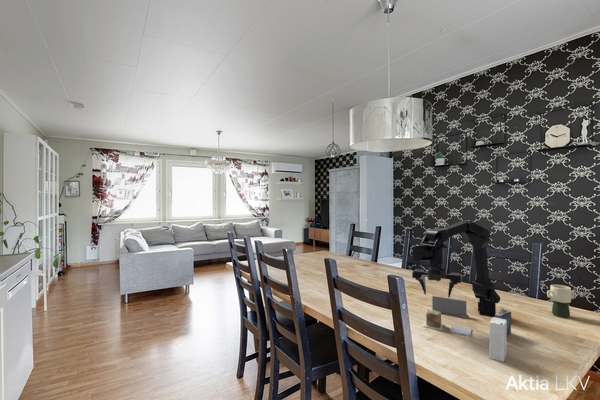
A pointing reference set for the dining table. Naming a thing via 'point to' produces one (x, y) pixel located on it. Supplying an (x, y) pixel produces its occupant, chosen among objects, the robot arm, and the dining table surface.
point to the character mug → (560, 299)
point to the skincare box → (498, 339)
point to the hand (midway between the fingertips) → (436, 295)
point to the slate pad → (461, 330)
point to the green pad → (434, 327)
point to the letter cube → (433, 318)
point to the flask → (507, 316)
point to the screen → (449, 306)
